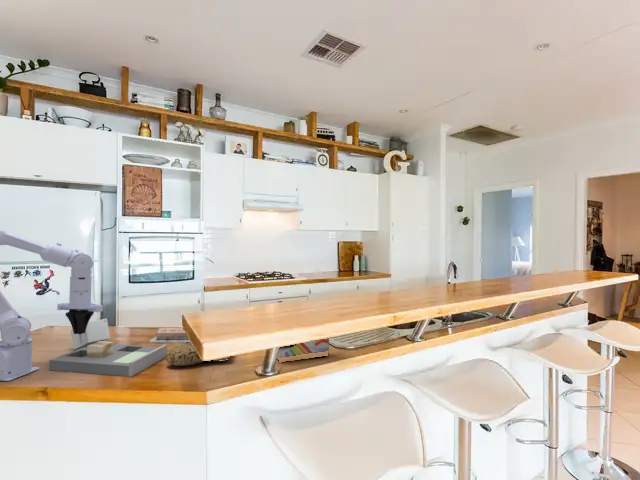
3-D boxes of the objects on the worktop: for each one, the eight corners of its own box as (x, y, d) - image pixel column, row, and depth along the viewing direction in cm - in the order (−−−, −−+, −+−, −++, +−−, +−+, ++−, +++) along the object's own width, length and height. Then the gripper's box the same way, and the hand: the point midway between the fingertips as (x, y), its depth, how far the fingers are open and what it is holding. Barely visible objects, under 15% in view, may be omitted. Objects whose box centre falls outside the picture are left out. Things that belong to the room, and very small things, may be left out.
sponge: (230, 358, 122) (172, 347, 119) (235, 337, 121) (177, 327, 118) (225, 379, 109) (160, 368, 106) (231, 357, 108) (165, 345, 105)
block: (101, 358, 107) (101, 346, 107) (86, 357, 107) (87, 345, 107) (113, 352, 112) (113, 342, 112) (99, 351, 112) (99, 341, 112)
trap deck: (131, 376, 101) (132, 362, 101) (49, 370, 104) (49, 356, 104) (167, 356, 118) (167, 344, 118) (95, 351, 122) (95, 340, 122)
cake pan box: (276, 364, 113) (277, 310, 113) (272, 359, 118) (273, 307, 118) (329, 358, 120) (331, 307, 121) (324, 353, 125) (325, 304, 125)
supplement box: (69, 330, 124) (84, 321, 118) (92, 326, 130) (108, 317, 124) (72, 350, 123) (88, 343, 116) (95, 345, 129) (111, 338, 122)
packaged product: (203, 325, 144) (196, 332, 134) (203, 337, 144) (196, 344, 134) (159, 325, 143) (148, 331, 133) (158, 337, 143) (148, 344, 133)
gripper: (110, 290, 114) (109, 331, 114) (70, 288, 116) (69, 329, 115) (93, 293, 107) (92, 337, 107) (51, 291, 109) (50, 334, 108)
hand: (79, 333), depth 111 cm, fingers closed
